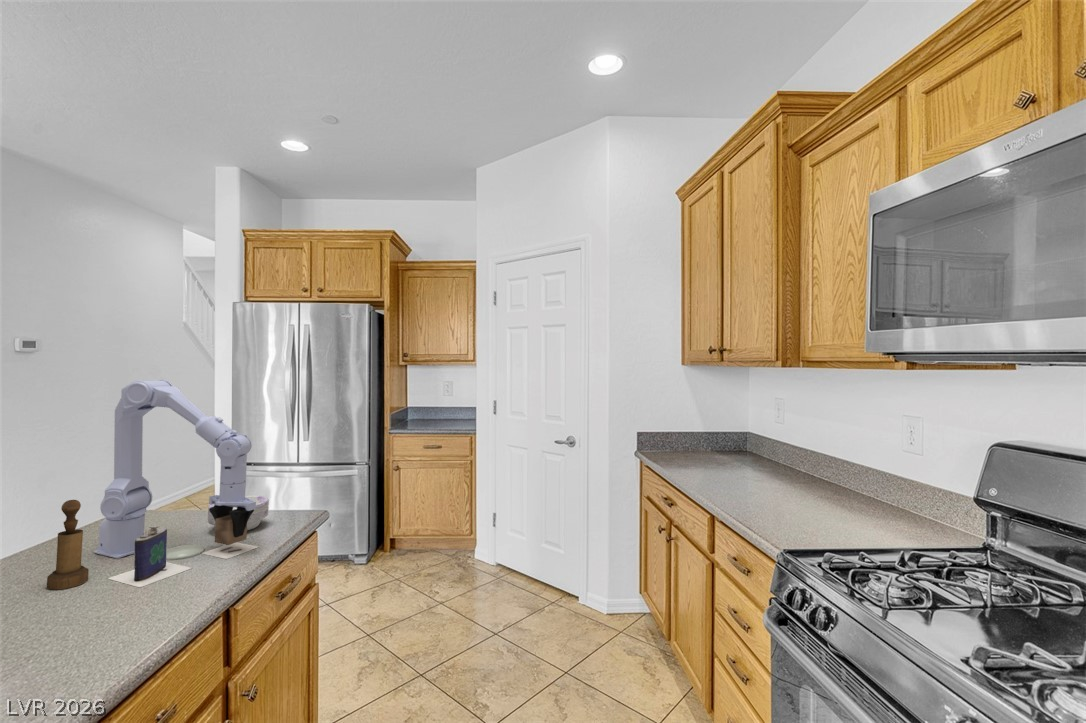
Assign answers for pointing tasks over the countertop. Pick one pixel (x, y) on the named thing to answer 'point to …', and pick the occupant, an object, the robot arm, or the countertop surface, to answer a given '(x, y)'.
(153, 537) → the flask
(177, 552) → the plate
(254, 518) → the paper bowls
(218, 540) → the walnut block
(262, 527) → the countertop surface
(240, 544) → the code tile
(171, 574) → the code tile
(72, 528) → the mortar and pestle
